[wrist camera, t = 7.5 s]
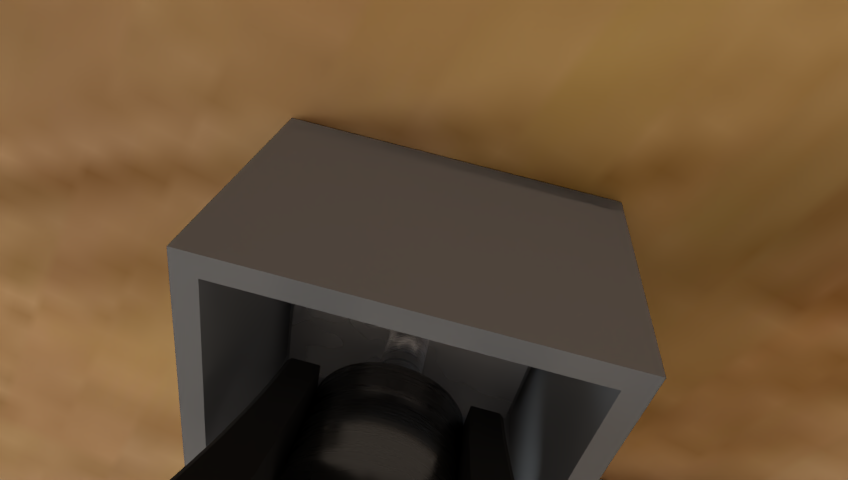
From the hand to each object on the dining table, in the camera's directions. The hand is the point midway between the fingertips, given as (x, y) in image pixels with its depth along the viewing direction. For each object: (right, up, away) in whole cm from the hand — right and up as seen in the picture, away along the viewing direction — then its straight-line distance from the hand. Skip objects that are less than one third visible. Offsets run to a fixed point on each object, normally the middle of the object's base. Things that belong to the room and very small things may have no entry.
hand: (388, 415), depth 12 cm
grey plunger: (+1, +2, +3) cm, 4 cm away
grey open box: (+1, +2, +4) cm, 4 cm away
